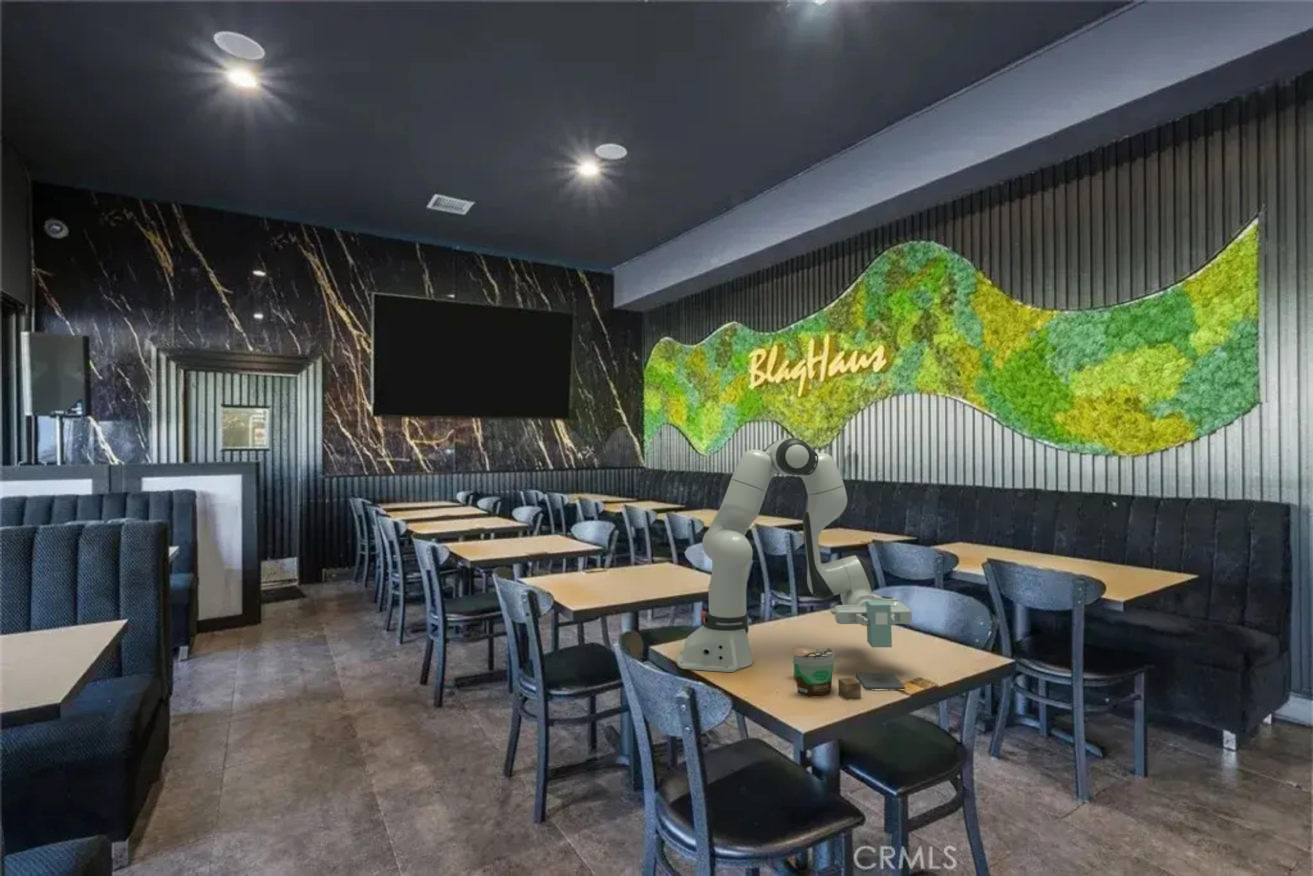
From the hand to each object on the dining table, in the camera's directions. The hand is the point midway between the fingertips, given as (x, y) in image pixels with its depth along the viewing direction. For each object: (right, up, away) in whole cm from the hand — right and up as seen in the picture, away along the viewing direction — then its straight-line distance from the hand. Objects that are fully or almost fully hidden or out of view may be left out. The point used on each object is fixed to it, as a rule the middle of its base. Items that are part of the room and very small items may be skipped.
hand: (879, 622), depth 171 cm
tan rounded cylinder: (-19, -17, +5) cm, 25 cm away
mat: (0, -16, +1) cm, 16 cm away
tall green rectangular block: (0, -6, +1) cm, 6 cm away
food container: (-17, -17, -5) cm, 25 cm away
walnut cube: (-10, -17, -8) cm, 21 cm away
